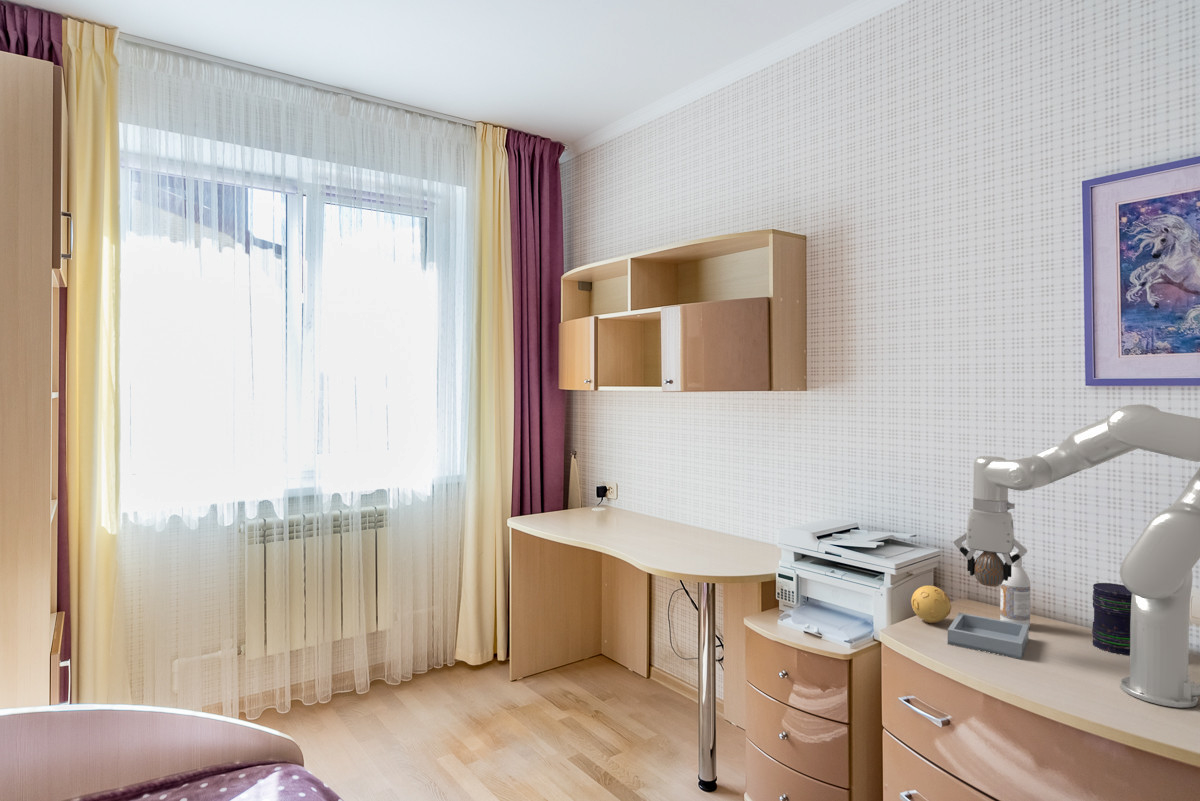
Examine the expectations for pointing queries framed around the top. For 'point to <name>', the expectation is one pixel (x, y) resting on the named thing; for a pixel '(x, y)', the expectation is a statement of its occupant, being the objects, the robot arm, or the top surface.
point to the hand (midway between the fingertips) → (989, 576)
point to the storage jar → (1112, 618)
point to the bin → (989, 635)
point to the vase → (989, 569)
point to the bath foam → (1015, 595)
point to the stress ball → (931, 604)
